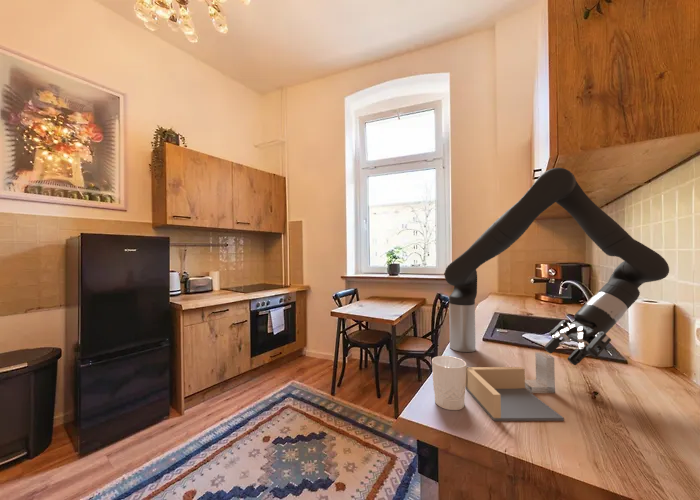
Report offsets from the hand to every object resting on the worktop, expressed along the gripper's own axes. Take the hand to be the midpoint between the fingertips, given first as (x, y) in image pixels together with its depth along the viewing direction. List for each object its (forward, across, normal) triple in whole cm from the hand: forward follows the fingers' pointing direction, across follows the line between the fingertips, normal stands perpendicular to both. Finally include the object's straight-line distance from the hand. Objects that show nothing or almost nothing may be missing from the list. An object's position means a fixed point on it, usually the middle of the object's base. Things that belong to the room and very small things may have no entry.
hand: (558, 356), depth 75 cm
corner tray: (+18, +7, -6) cm, 21 cm away
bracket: (+10, 0, +2) cm, 10 cm away
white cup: (+29, +7, -16) cm, 34 cm away
